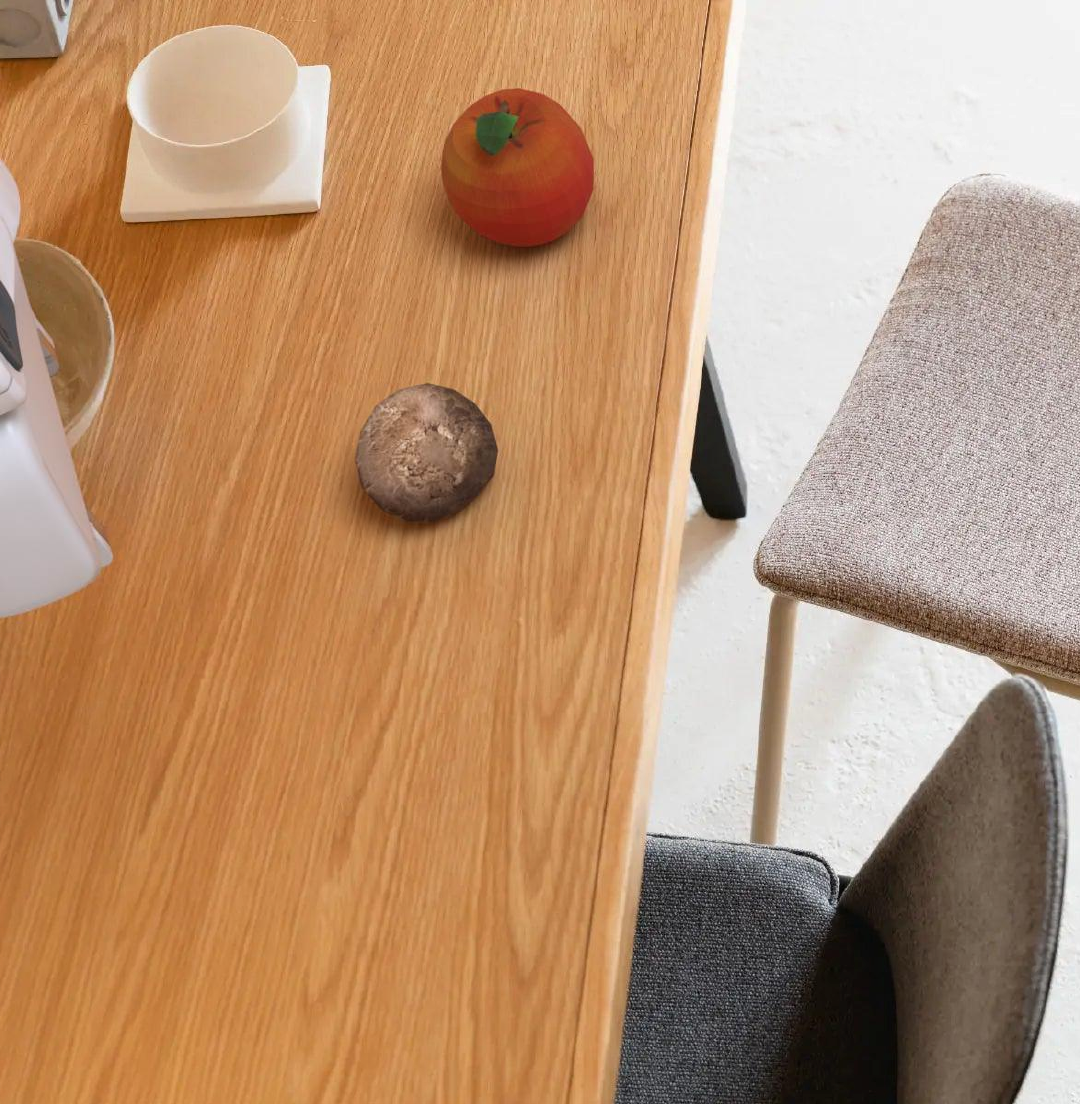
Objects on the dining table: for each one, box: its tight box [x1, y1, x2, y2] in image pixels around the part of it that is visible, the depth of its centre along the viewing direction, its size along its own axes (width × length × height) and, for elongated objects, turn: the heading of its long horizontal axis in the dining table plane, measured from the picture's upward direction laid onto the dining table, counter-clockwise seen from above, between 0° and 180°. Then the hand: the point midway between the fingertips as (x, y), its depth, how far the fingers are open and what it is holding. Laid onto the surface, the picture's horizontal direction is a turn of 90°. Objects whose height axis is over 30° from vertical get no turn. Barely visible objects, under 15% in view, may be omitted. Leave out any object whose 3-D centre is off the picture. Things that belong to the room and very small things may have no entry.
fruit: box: [440, 87, 595, 248], centre depth 93 cm, size 10×10×10 cm
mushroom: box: [354, 382, 499, 524], centre depth 85 cm, size 8×8×6 cm
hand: (62, 458), depth 56 cm, fingers open, 8 cm apart
